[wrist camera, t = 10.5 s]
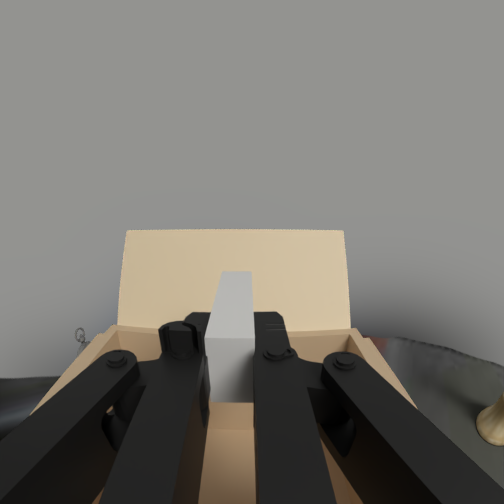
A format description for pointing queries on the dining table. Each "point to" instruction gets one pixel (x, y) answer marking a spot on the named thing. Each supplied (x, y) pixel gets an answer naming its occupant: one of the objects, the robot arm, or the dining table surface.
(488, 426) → the hand bell
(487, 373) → the dining table surface
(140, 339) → the carton
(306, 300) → the carton flap
